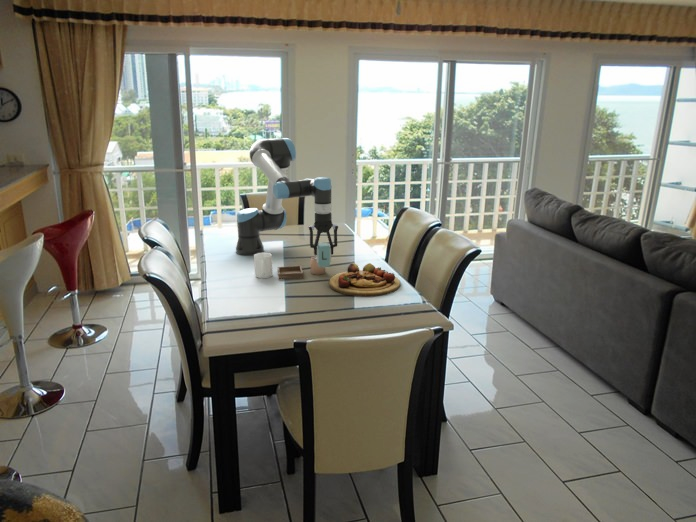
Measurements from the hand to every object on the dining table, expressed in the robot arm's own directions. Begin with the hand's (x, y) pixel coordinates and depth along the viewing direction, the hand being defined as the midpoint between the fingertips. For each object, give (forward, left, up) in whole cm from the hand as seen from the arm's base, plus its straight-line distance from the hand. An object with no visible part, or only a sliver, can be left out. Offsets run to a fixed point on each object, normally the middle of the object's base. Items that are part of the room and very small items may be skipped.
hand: (323, 261), depth 244 cm
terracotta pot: (-9, -2, -8) cm, 13 cm away
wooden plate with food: (+12, +17, -9) cm, 23 cm away
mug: (-7, -28, -8) cm, 30 cm away
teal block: (0, 0, -2) cm, 2 cm away
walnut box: (-8, -15, -8) cm, 19 cm away
